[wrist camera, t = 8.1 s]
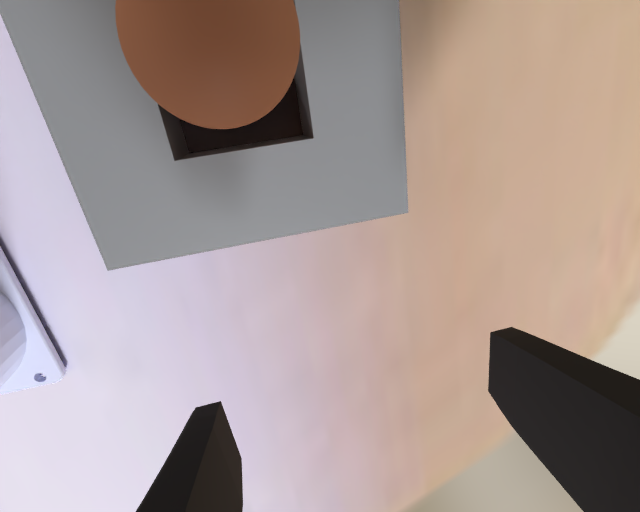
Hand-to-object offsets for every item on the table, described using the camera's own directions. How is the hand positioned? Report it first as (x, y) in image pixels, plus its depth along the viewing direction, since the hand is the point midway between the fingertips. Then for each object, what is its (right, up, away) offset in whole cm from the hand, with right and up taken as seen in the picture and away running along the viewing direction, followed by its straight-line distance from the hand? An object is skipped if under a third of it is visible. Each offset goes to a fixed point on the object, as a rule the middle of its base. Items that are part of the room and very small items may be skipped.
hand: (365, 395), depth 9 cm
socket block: (-5, +11, +5) cm, 13 cm away
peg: (-5, +11, +5) cm, 13 cm away
